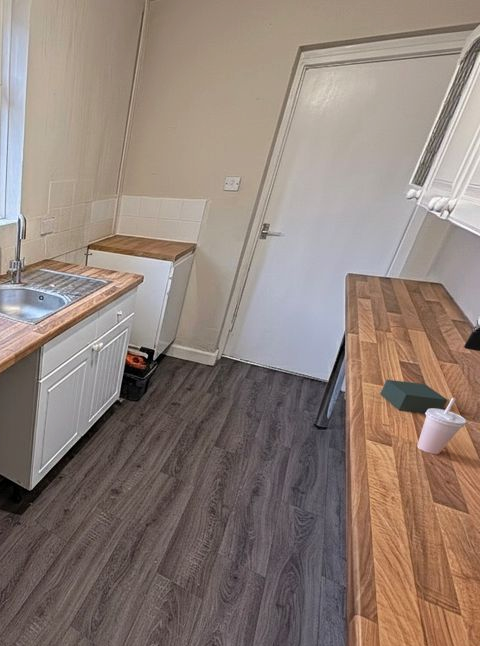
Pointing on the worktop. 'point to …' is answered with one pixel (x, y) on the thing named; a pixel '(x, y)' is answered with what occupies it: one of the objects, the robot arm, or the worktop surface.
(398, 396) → the block
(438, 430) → the smoothie
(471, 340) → the robot arm
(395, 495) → the worktop surface
